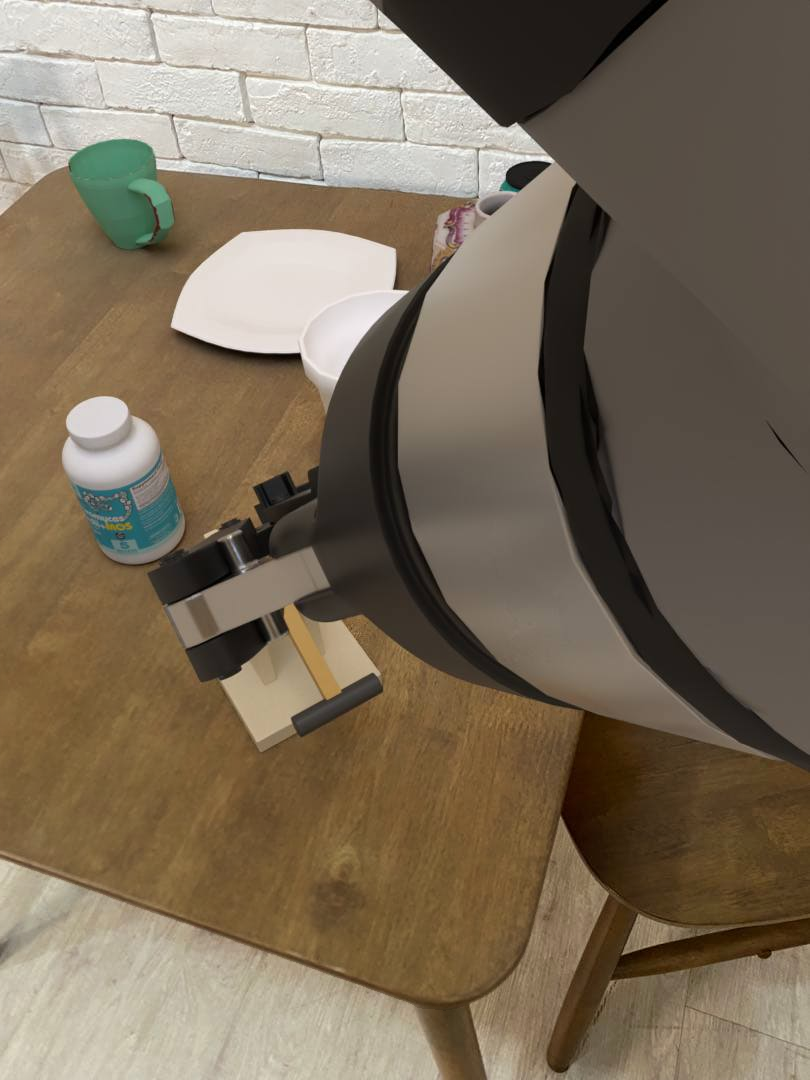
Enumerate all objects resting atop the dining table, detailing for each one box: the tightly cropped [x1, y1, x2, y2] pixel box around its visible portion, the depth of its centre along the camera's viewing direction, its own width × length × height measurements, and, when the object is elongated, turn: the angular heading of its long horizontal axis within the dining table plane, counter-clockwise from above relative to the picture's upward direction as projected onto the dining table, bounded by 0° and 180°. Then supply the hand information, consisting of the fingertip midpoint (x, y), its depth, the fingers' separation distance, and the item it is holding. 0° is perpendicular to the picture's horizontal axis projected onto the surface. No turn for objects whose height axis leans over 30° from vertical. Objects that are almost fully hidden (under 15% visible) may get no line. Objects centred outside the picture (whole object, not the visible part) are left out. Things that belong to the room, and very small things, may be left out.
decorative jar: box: [429, 190, 517, 274], centre depth 85 cm, size 12×12×18 cm
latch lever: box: [284, 604, 384, 738], centre depth 61 cm, size 13×6×2 cm, turn 32°
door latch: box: [203, 528, 383, 754], centre depth 65 cm, size 12×10×14 cm
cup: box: [298, 289, 410, 415], centre depth 77 cm, size 12×12×15 cm
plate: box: [170, 228, 397, 355], centre depth 102 cm, size 23×23×2 cm
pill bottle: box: [61, 395, 186, 565], centre depth 75 cm, size 8×7×14 cm
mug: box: [67, 138, 176, 250], centre depth 108 cm, size 15×10×10 cm
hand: (286, 530), depth 36 cm, fingers closed
